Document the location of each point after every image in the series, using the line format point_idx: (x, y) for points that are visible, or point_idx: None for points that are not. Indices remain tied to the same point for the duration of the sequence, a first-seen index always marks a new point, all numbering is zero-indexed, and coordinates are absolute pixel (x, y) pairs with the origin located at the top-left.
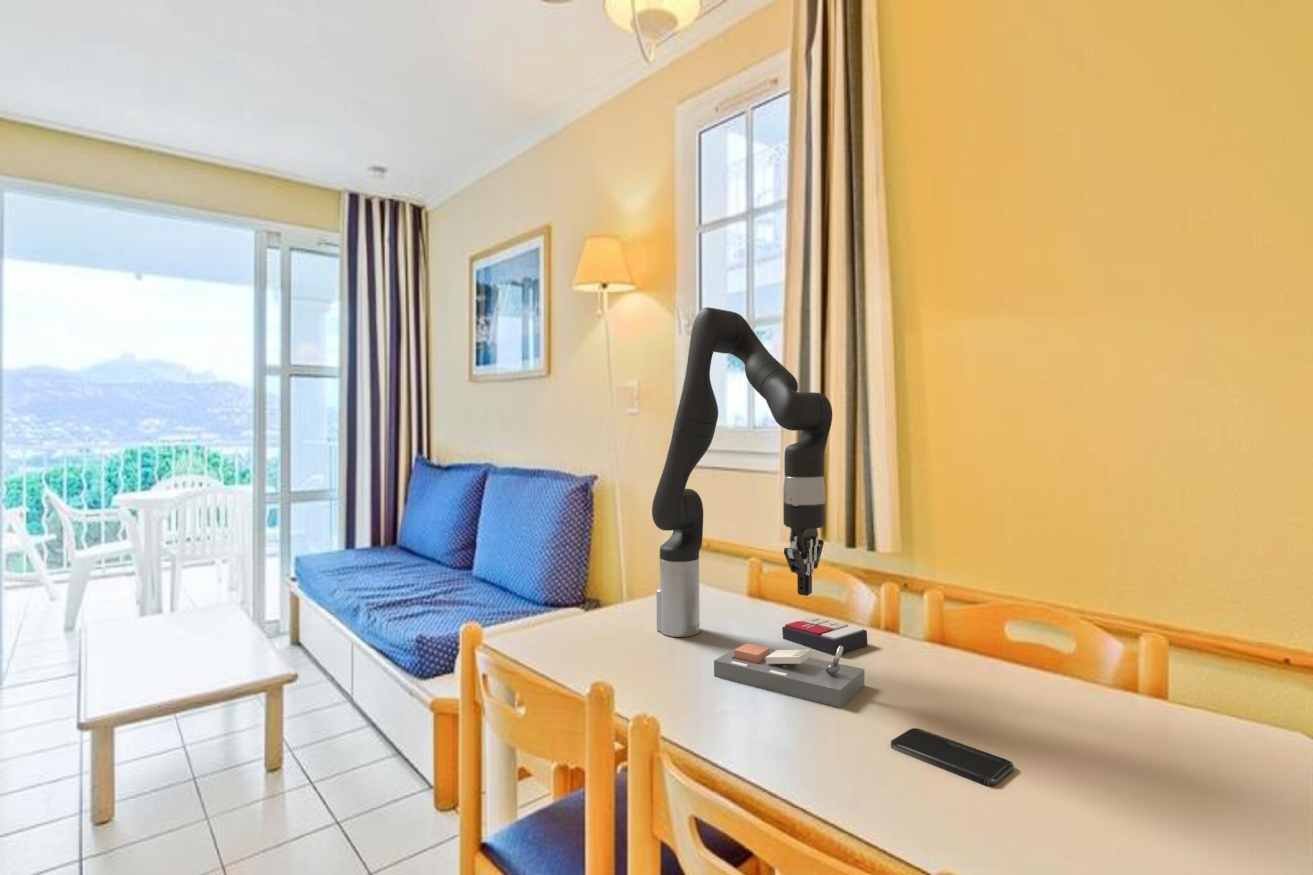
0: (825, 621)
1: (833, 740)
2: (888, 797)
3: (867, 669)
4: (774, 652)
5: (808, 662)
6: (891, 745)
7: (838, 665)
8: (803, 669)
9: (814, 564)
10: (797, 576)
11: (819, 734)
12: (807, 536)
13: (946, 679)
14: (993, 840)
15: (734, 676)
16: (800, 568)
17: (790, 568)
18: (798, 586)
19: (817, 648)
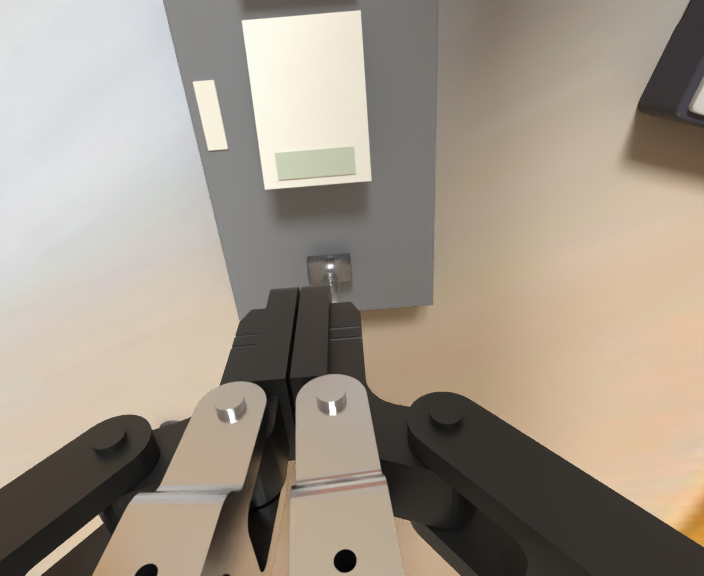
0: None
1: (93, 348)
2: (16, 467)
3: (551, 240)
4: (318, 23)
5: (382, 148)
6: (160, 427)
7: (349, 281)
8: None
9: (416, 522)
10: (251, 368)
11: (89, 319)
12: None
13: (569, 394)
14: (53, 552)
15: None
16: (71, 560)
17: (38, 468)
18: (237, 339)
19: (688, 11)
